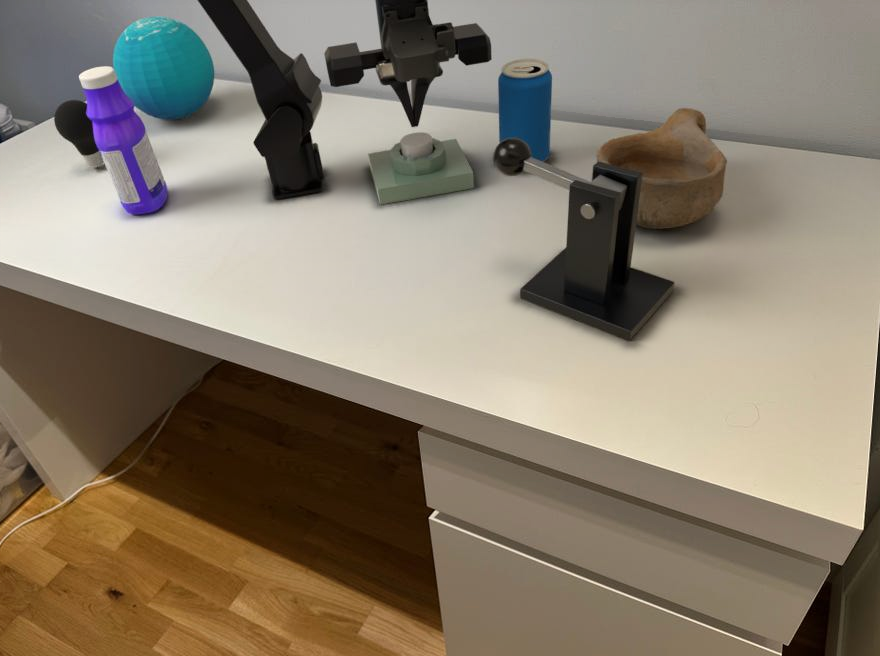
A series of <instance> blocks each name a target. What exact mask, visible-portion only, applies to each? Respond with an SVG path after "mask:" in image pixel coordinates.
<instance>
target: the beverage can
mask: <svg viewBox="0 0 880 656" xmlns="http://www.w3.org/2000/svg"><path fill="white" fill-rule="evenodd" d="M497 79H498V80H497V84H498V85H497V87H498V89H497V90H498V95H497V96H498V141H499V143H500V142H501V141H503V140H504V139H507V138H511V137H515V138H519V139H522V140H523V141H524V142H526V143H527V145H528V146H529V148H530V151H531V157H532V158H535V159H537V160H540V161H542V162H545V161H546V160H548V158H549V157H550V154H551V126H552V125H551V123H552V96H553V95H552V94H553V74H552V72H551V71H550V65H549V63H548V62H546V61H545V60H542V59H537V58H520V59H519V58H518V59H513V60H511V61H508V62H506V63H505V64H503V65H502V67H501V73H500V74H499V76H498V78H497ZM499 143H498V144H499Z"/></svg>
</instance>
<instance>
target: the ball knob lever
mask: <svg viewBox="0 0 880 656" xmlns="http://www.w3.org/2000/svg"><path fill="white" fill-rule="evenodd" d="M492 160H493V164H494V167H495V168H496V170H497V171H498V173H500V174H501V175H503V176H506V177H509V178H510V177H512V178H513V177H517V176H521V175H522V174H524V173H525V172H527V173H529V174H531V175H534V176H535V177H538V178H541V179H542V180H545V181H547V182H549V183H552V184H553V185H557V186H559V187H561V188H562V189H566V190H568V191H569V188H570V184H571V183H572V182H574V181H575V180H577V181H581V182H585V183H588V184H592V185H595V186H599V187H603V188H606V189H610V190H614V191H617V192H621V195H620V204H619V210H620V209H621V208H622V204H623V201H624V197H625V193H626V190H627V186H626V185H624V184H622V183H619V182H617V181H614V180H612V179H609V178H607V177H605V176H602V175H599V176H598V177H596V178H595V179H594V180H593V181H592V180H591V181H589V180H588V179H584V178H583V177H580V176H578V175H575V174H572V173H570V172H568V171H566V170H563V169H561V168H558V167H556V166H554V165H552V164H549V163H547V162H545V161H543V162H542V161H540V160H537V159H535V158H532V157H531V151H530V148H529V146H528V145H527V143H526V142H524V141H523V140H522V139H519V138H515V137H511V138H507V139H504V140H503V141H501V142H500V143H498V144H497V145H496V147H495V149H494V151H493V155H492Z"/></svg>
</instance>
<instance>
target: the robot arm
mask: <svg viewBox="0 0 880 656" xmlns="http://www.w3.org/2000/svg"><path fill="white" fill-rule="evenodd" d="M197 2H198V3H199V5H200V6H201V8H202V9H203V10H204V12H205V13H206V15H207V16H208V19H210V20H211V22H212V23H213V25H214V27H215V28H216V29H217V31H218V32H219V34H220V35H221V36H222V38H223V39H224V41H225V42H226V43H227V45H228V47H229V48H230V49H231V51H232V52H233V53H234V55H235V56H236V58H237V59H238V61H239V62H240V64H241V65H242V66H243V68H244V69H245V71H246V72H247V74H248V76H249V78H250V82H251V85H252V89H253V92H254V96H255V100H256V103H257V105H258V107H259V109H260V111H261V113H262V115H263V117H264V119H265V120H264V122H263V124H262V125H261V127H260V129H259V131H258V132H257V134H256V137H255V138H254V140H253V143H252V144H253V145H254V147H255V149H256V150H257V152H258V153H259V154H260V156H261V157H262V158H264V161H265V164H266V168H267V171H268V175H269V180H270V183H271V192H272V193H271V194H272V195H271V196H272V199H274V200H280V199H285V198H291V197H297V196H302V195H309V194H314V193H320V192H322V191H323V181H324V180H325V173H324V168H323V163H322V158H321V154H320V149H319V144H318V143H317V142H313V139H312V138H313V136H312V132H311V130H312V129H313V127H314V125H315V122H316V119H317V117H318V115H319V112H320V110H321V107H322V104H323V102H322V101H323V93H322V90H321V88H320V85H321V82H322V80H321V78H319V77H318V76H317V75H316V74H315V73H314V72H313V70H312V68H311V67H310V65H309V63H308V61H307V58H306V57H305V55H304V54H303V53H301V52H300V53H299V54H298V55H297V56H296V57H294V59H293V58H292V57H291V56H290V55H288V54H286V52H284V51H283V50H281V49H280V47H279V46H278V45H277V43H276V41H275V40H274V39H273V37H272V36H271V34H270V32H269V31H268V30H267V28H266V26H265V25H264V24H263V22H262V21H261V19H260V17H259V16H258V14H257V13H256V12H255V10H254V8H253V7H252V6H251V4H250V2H249V1H248V0H197ZM375 8H376V10H375V11H376V18H377V25H378V33H379V41H380V48H377V49H372V50H364V51H360V49H359V45H358V43H357V42H350V43H344V44H337V45H332V46H331V45H330V46H327V48H326V49H325V51H324V53H323V54H324V60H325V66H326V71H327V75H328V79H329V84H330V87H333V88H338V87H339V88H340V87H345V86H352V85H356V84H359V83H360V82H361V81H362V79H363V78H364V76H365V72H364V71H366V70H372V69H375V72H376V75H377V77H378V80H379V83H380V85H382V86H390V87H391V88H392V90H393V91H394V93H395V94H396V96H397V98H398V100H399V102H400V103H401V106H402V107H403V110H404V112H405V116H406V117H407V120H408V122H409V124H410V127H411V128H415V127H419V125H420V120H421V116H422V112H423V108H424V103H425V100H426V96H427V93H428V91H429V89H430V86H431V84H432V82H433V81H434V80H435V79H437V78H439V77H442V76H443V73H444V70H443V68H442V67H441V63H445V62H449V61H450V59H451V60H452V59H454V58H455V57H456V55H457V60H459V61H460V62H461V63H462V64H464V65H465V66H466V67H467V66H473V65H479V64H484V63H488V62H490V61H492V43H491V38H490V36H489V35H488V34H487V33H486V31H485V30H484V29H483V28H482V26H481V25H479V24H478V23H477V22H474V23H468V24H462V25H455V26H453V22H443V23H435V24H433V22H432V20H431V17H430V9H429V2H428V0H375ZM408 82H410V88H411V89H410V91H411V97H410V93H409V88H408V87H409V86H408Z"/></svg>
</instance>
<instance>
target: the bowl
mask: <svg viewBox="0 0 880 656" xmlns="http://www.w3.org/2000/svg"><path fill="white" fill-rule="evenodd" d="M706 130H707V122H706V117H705V115H704V113H702V112H701V111H700V110H697V109H694V108H688V107H683V108H678V109H676V110H675V111H674V112H673V113H672V114H671V115H669V117H668V118H667V120H666V121H665V122H664V124H662V125H661V126H659V127H657V128H655V129H653V130H651V131H648V132H641V133H634V134H629V135H628V134H627V135H625V136H619V137H616V138H612V139H609V140H608V141H606V142H604V143H603V144H602V145H601V146H599V148H598V150H597V151H596V163H597V162H603V163H607V164H611V165H615V166H619V167H623V168H627V169H631V170H634V171H638V172H642V173H643V175H642V183H641V191H640V199H639V206H638V214H637V222H636V227H640V228H644V229H645V228H646V229H672V228H677V227H681V226H686V225H688V224H689V225H690V224H691V223H692V224H693V223H694V222H696V221H697V220H700V219H702V218H703V217H704V216H706V215H708V214H709V213H711V211H713V210H714V208H715V207H716V205H717V204H718V203H719V202H720V200H721V199H722V196H723V193H724V188H725V186H724V185H725V175H726V167H727V163H728V160H727V157H726V156H725V155H724V153H723V152H722V150H721V149H719V147H718V146H717V145H716V144H715V143H714V141H713V140H712V139H711V138H710V137H709V136H708V135H707V133H706V132H707V131H706Z"/></svg>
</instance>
